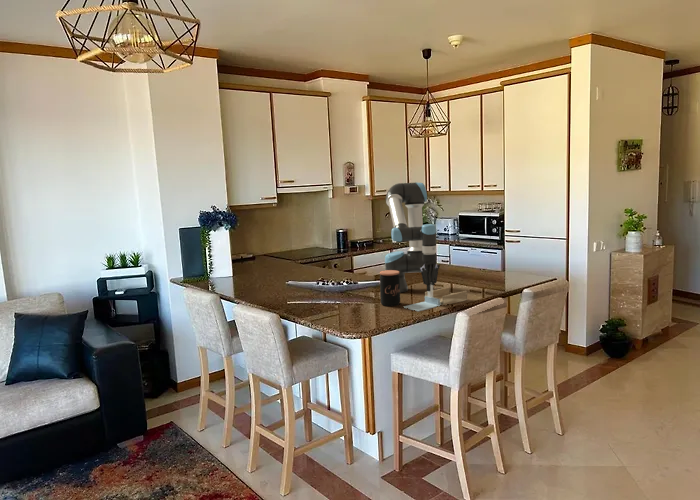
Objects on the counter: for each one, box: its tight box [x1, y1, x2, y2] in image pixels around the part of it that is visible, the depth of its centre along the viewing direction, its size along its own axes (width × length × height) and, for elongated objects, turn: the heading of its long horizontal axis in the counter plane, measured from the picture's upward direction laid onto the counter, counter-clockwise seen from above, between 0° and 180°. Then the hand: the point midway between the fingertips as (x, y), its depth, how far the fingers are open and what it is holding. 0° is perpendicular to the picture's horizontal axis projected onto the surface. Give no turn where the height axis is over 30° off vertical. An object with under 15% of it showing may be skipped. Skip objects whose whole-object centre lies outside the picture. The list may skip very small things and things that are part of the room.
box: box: [424, 286, 468, 306], centre depth 295 cm, size 14×18×5 cm
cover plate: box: [403, 295, 441, 312], centre depth 284 cm, size 12×17×4 cm
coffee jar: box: [379, 270, 401, 307], centre depth 291 cm, size 11×11×18 cm
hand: (430, 296), depth 288 cm, fingers closed
